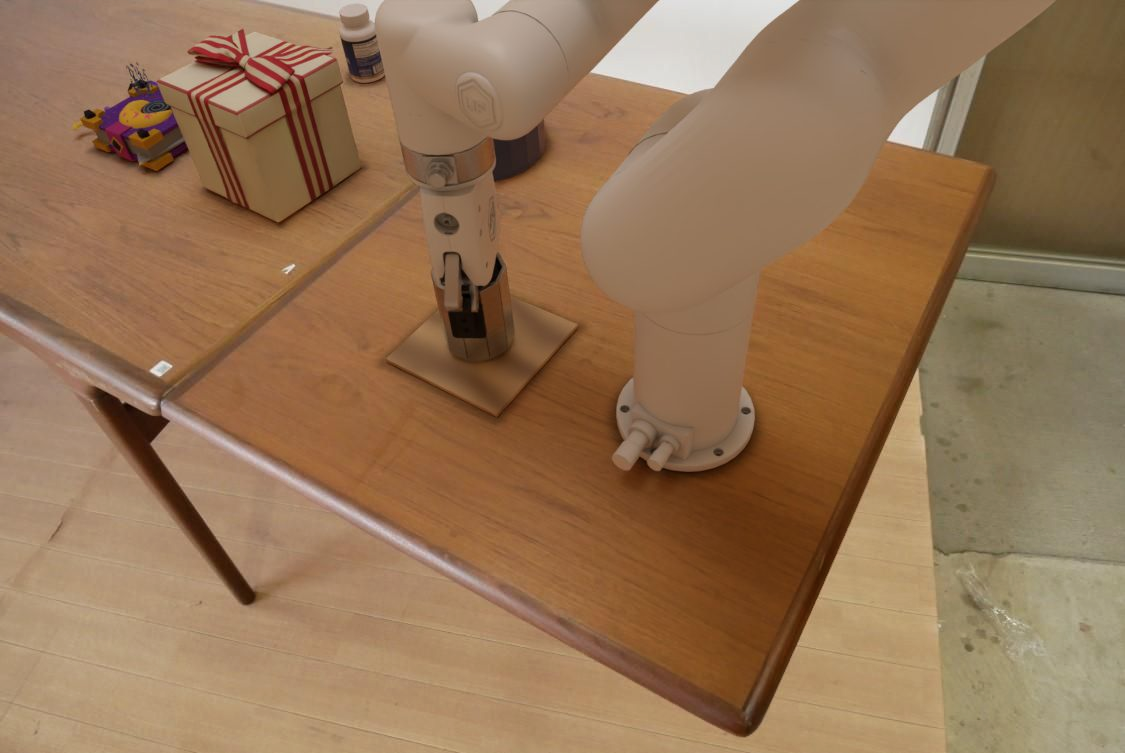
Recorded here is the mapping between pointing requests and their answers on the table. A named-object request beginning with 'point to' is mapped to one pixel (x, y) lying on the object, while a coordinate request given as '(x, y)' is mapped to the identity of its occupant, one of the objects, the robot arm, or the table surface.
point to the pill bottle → (360, 44)
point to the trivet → (490, 378)
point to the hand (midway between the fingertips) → (475, 306)
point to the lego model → (137, 126)
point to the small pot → (495, 314)
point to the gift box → (263, 121)
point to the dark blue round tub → (518, 153)
